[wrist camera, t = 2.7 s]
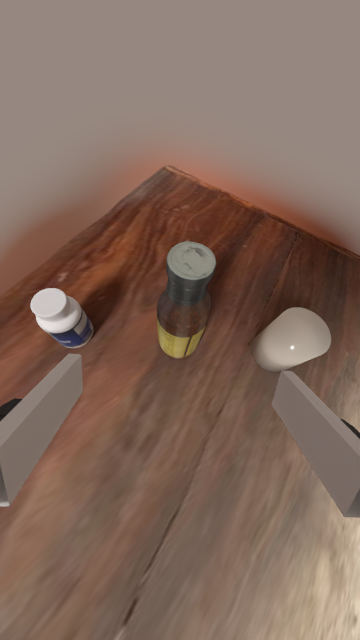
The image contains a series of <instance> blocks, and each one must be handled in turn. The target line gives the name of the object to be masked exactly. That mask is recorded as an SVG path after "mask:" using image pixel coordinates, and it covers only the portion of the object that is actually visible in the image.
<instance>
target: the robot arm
mask: <svg viewBox="0 0 360 640" xmlns="http://www.w3.org/2000/svg"><path fill="white" fill-rule="evenodd" d="M82 392H83V384H82V360H81V355H80V354H68V355H67V356H66V357H65V358H64V359H63V360H62V361H61V362H60V363H59V364H58V365H57V366H56V367H55V368H54V369H53V370H52V371H51V372H50V373H49V374H48V375H47V376H46V377H45V378H44V379H43V380H42V381H41V382H40V383H39V384H38V385H37V386H36V387H35V388H34V389H33V390H32V391H31V392H30V393H29V394H28V395H27V396H26V397H25V398H24V399H15V398H14V399H13V400H11V401H9V402H7V403H6V404H4V405H2V406H1V407H0V506H10V505H11V503H12V502H13V500H14V499H15V497H16V495H17V494H18V492H19V491H20V489H21V488H22V486H23V484H24V483H25V481H26V480H27V478H28V477H29V475H30V473H31V472H32V470H33V469H34V467H35V466H36V464H37V462H38V461H39V459H40V458H41V456H42V455H43V453H44V451H45V450H46V448H47V447H48V445H49V444H50V442H51V440H52V439H53V437H54V436H55V434H56V433H57V431H58V429H59V428H60V426H61V425H62V423H63V422H64V420H65V418H66V417H67V415H68V414H69V412H70V411H71V409H72V407H73V406H74V404H75V403H76V401H77V400H78V398H79V396H80V395H81V393H82ZM272 406H273V407H274V409H275V410H276V412H277V413H278V415H279V417H280V418H281V420H282V421H283V423H284V424H285V426H286V427H287V429H288V431H289V432H290V434H291V435H292V437H293V438H294V440H295V441H296V443H297V444H298V446H299V448H300V449H301V451H302V452H303V454H304V455H305V457H306V458H307V460H308V462H309V463H310V465H311V466H312V468H313V469H314V471H315V472H316V474H317V475H318V477H319V479H320V480H321V482H322V483H323V485H324V486H325V488H326V489H327V491H328V493H329V494H330V496H331V497H332V499H333V500H334V502H335V503H336V505H337V506H338V508H339V510H340V511H341V513H342V514H343V516H344V517H360V433H359V432H358V431H357V430H356V429H355V428H354V427H353V426H352V425H350V424H349V423H347V422H346V421H344V420H343V419H339V418H338V417H337V416H336V415H335V414H334V413H333V412H332V411H331V410H330V409H329V408H328V407H327V406H326V405H325V404H324V403H323V402H322V401H321V400H320V399H319V398H318V397H317V396H316V395H315V394H314V393H313V392H312V391H311V390H310V389H309V388H308V387H307V386H306V385H305V383H304V382H303V381H302V380H301V379H300V378H299V377H298V376H297V375H296V374H295V373H294V372H293V371H281V374H280V378H279V381H278V384H277V388H276V391H275V394H274V398H273V401H272Z"/></svg>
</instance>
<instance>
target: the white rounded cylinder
mask: <svg viewBox="0 0 360 640" xmlns="http://www.w3.org/2000/svg"><path fill="white" fill-rule="evenodd" d="M330 344H331V335H330V331H329V329H328V327H327V325H326V324H325V322H324V321H323V320H322V319H321V318H320V317H319V316H318V315H317V314H315V313H314V312H312V311H310V310H308V309H305V308H300V307H293V308H289V309H287V310H285V311H284V312H283V313H282V314H281V315H280V316H278V317H277V318H276V319H275V320H274V321H273V322H272V323H271V324H269V325H268V326H267V327H266V328H265V329H264V330H263V331H261V332H260V333H259V334H258V335H257V336H256V337H255V338H254V339H253V341H252V344H251V352H252V355H253V358H254V359H255V361H256V362H257V364H258V365H259V366H261V367H262V368H263V369H265V370H267V371H270V372H281V371H284V370H286V369H289V368H291V367H294V366H296V365H298V364H301V363H303V362H305V361H308V360H310V359H313V358H315V357H317V356H320V355H322V354H324V353H325V352H326V351H327V350H328V349H329V347H330Z"/></svg>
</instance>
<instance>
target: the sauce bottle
mask: <svg viewBox="0 0 360 640" xmlns="http://www.w3.org/2000/svg"><path fill="white" fill-rule="evenodd" d="M215 267H216V259H215V256H214V254H213V252H212V251H211V250H210V249H209V248H208V247H206V246H204V245H202V244H199V243H195V242H182V243H179V244H177V245H176V246H174V247H173V248H171V250H170V251H169V253H168V256H167V263H166V271H167V274H168V283H167V288H166V290H165V291H164V292H163V293H162V295H161V297H160V299H159V301H158V305H157V324H158V334H159V343H160V346H161V348H162V350H163V351H164V352H165V353H166V354H167V355H168V356H169V357H172V358H178V359H180V358H186V357H188V356H189V355H191V353H192V352H193V351H194V350H195V349H196V347H197V345H198V343H199V340H200V338H201V335H202V333H203V331H204V329H205V326H206V324H207V321H208V317H209V314H210V309H211V296H210V294H209V293H208V291H207V285H208V282H209V281H210V280H211V279H212V278H213V275H214V272H215Z"/></svg>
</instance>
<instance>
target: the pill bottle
mask: <svg viewBox="0 0 360 640" xmlns="http://www.w3.org/2000/svg"><path fill="white" fill-rule="evenodd" d="M31 309H32V311H33V313H34V314H36V320H37V323H38V324H39V326H40V327H41V328H42V329H43V330H44V331H46V332H47V333H48V334H49V335H51V336H52V337H53V338H54V339H55V340H57V341H58V342H59V343H60V344H62V345H63V346H65V347H68V348H78V347H81V346H83V345H85V344H86V343H87V342H88V341H89V340H90V339H91V337H92V335H93V326H92V323H91V322H90V320H89V318H88V317H87V315H86V314H85V312H84V311H83V309H82V308H81V306H80V305H79V303H78V302H77V301H76V300H75V299H73V298H72V297H69V296H66V295H65V293H64V292H63V291H61V290H59V289H56V288H48V289H44V290H42V291H40V292H38V293H37V294H36V295H35V296H34V297H33V298H32V301H31Z"/></svg>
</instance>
